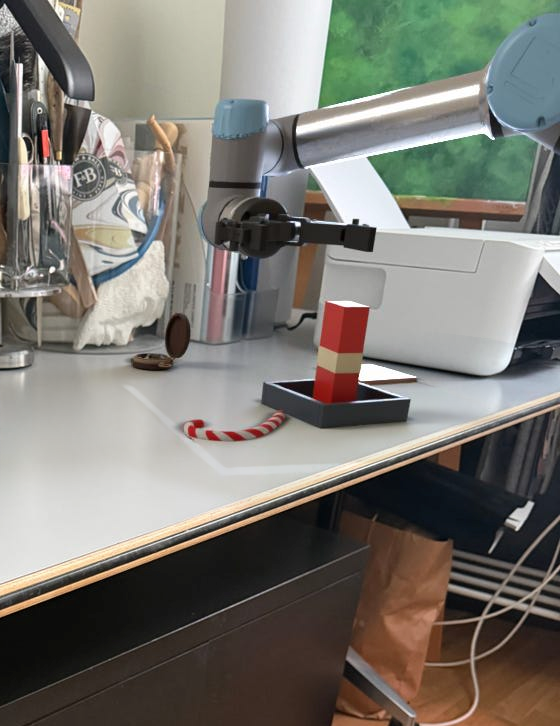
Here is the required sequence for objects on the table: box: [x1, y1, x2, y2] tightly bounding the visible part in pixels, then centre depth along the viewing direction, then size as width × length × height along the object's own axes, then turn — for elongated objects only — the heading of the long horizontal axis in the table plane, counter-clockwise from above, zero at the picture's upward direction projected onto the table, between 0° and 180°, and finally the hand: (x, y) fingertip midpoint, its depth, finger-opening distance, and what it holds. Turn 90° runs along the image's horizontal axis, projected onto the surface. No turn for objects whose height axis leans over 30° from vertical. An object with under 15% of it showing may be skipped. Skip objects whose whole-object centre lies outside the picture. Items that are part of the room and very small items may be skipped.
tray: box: [260, 378, 412, 430], centre depth 109 cm, size 13×12×3 cm
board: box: [358, 363, 418, 386], centre depth 129 cm, size 10×9×1 cm
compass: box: [130, 312, 192, 370], centre depth 132 cm, size 8×8×7 cm
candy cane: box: [182, 410, 287, 442], centre depth 102 cm, size 8×1×15 cm
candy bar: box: [313, 300, 371, 404], centre depth 107 cm, size 3×5×12 cm, turn 11°
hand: (318, 239), depth 110 cm, fingers open, 13 cm apart
